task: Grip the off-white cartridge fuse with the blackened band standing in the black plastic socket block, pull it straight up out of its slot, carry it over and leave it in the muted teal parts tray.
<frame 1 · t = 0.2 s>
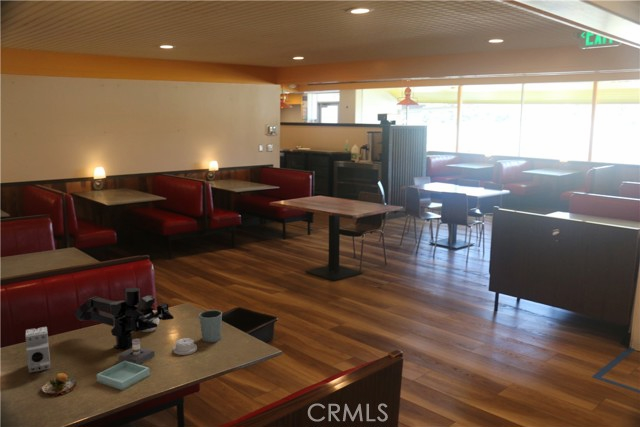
hand: (165, 321, 221), 16 cm above the table, tool horizontal, fingers open, 9 cm apart
blue-grey cup: (211, 339, 245), on the table
fuse: (136, 349, 223), in the socket block
mechanical component: (185, 350, 233), on the table
circuit breaker: (39, 370, 214), on the table
plate of food: (59, 389, 199), on the table
lidded jar: (148, 329, 255), on the table
parts tray: (123, 378, 207), on the table
socket block: (136, 358, 224), on the table
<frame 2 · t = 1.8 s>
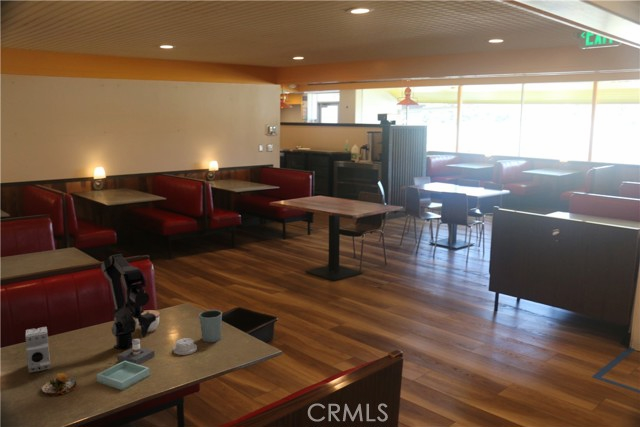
hand: (135, 335, 222), 10 cm above the table, tool pointing down, fingers open, 9 cm apart
nothing on the table moved.
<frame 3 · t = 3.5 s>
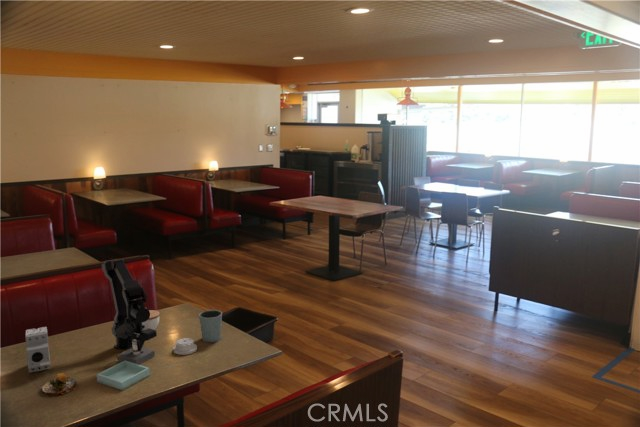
hand: (136, 350, 224), 4 cm above the table, tool pointing down, fingers closed on fuse, 3 cm apart
fuse: (136, 349, 223), in the socket block, touching gripper
everything else where it was.
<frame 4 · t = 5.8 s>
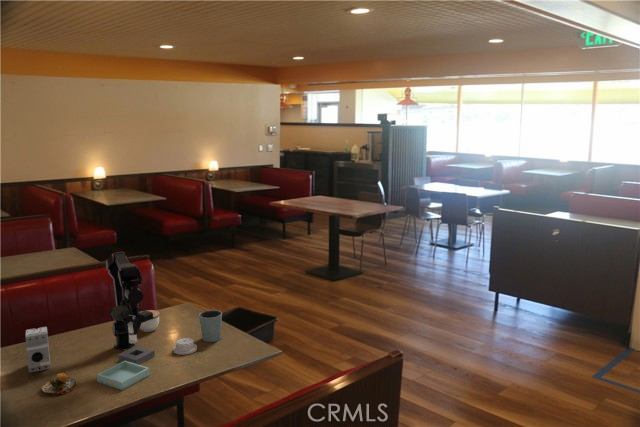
hand: (132, 333, 218), 13 cm above the table, tool pointing down, fingers closed on fuse, 3 cm apart
fuse: (132, 332, 217), point 13 cm above the table, touching gripper
everything else where it was.
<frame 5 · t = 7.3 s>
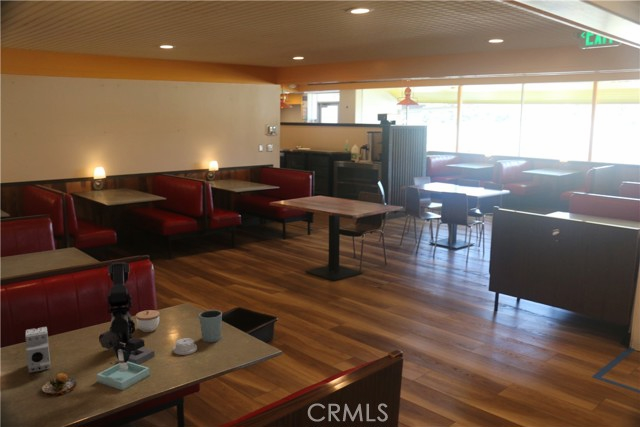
hand: (122, 361, 206), 7 cm above the table, tool pointing down, fingers closed on fuse, 3 cm apart
fuse: (122, 360, 206), point 8 cm above the table, touching gripper
everything else where it was.
when the fingers open (6 cm above the table, at t = 8.1 s): fuse drops 1 cm, resting on parts tray.
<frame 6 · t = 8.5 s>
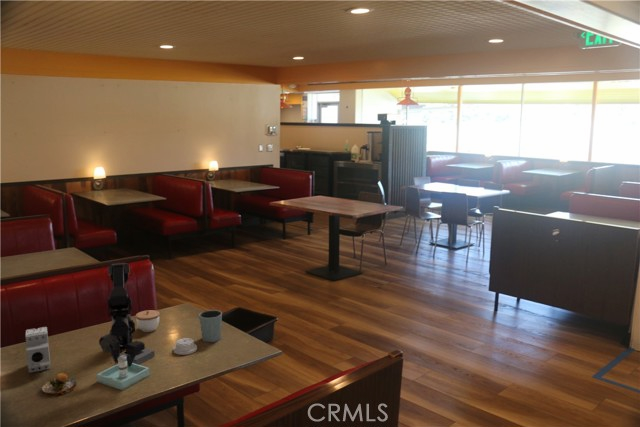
hand: (123, 364, 206), 6 cm above the table, tool pointing down, fingers open, 7 cm apart
fuse: (122, 366, 206), in the parts tray, point 5 cm above the table
everything else where it was.
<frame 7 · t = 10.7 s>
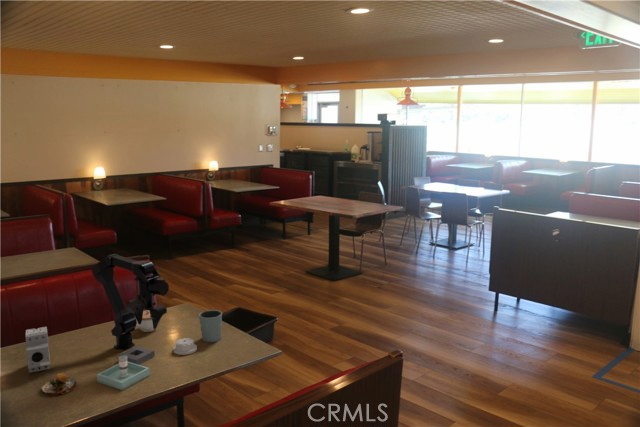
hand: (147, 326, 228), 12 cm above the table, tool pointing down, fingers open, 9 cm apart
nothing on the table moved.
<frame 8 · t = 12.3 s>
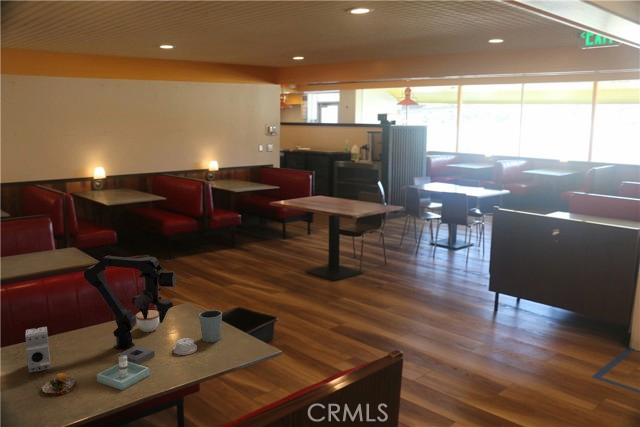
hand: (153, 320, 233), 12 cm above the table, tool pointing down, fingers open, 9 cm apart
nothing on the table moved.
at the end: fuse inside the target area on the parts tray (0.0 cm from its centre), point 4.8 cm above the parts tray's base; the gripper is holding nothing; fuse touching parts tray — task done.
